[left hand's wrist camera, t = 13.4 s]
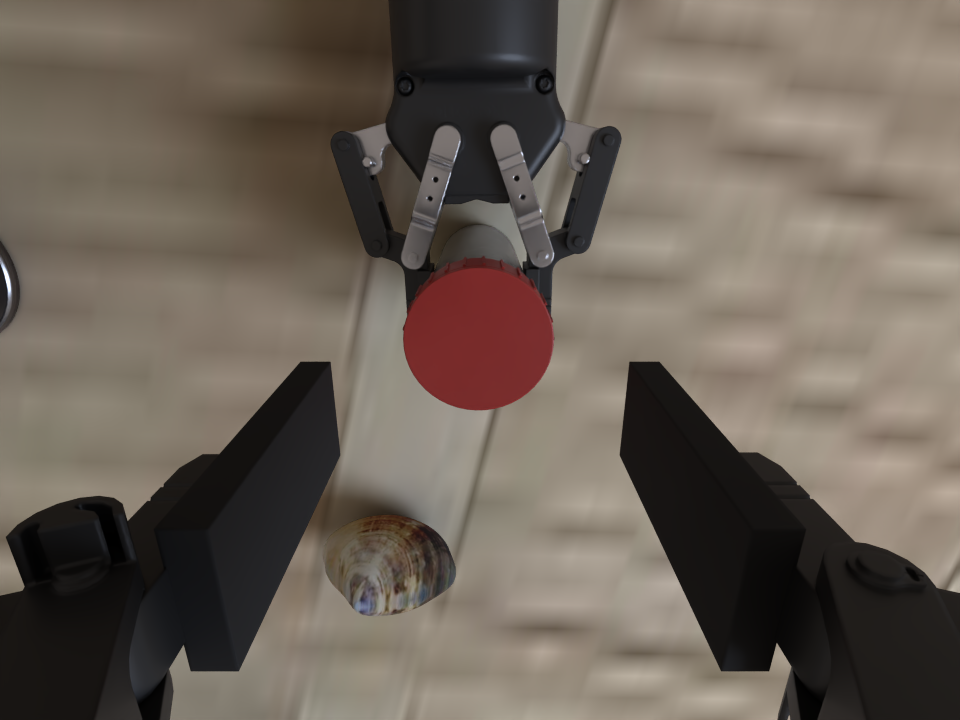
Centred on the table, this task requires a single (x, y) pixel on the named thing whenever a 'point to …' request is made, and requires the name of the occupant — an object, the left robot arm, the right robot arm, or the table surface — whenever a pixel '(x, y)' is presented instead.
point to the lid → (478, 334)
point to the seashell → (388, 564)
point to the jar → (478, 246)
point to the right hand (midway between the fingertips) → (478, 332)
